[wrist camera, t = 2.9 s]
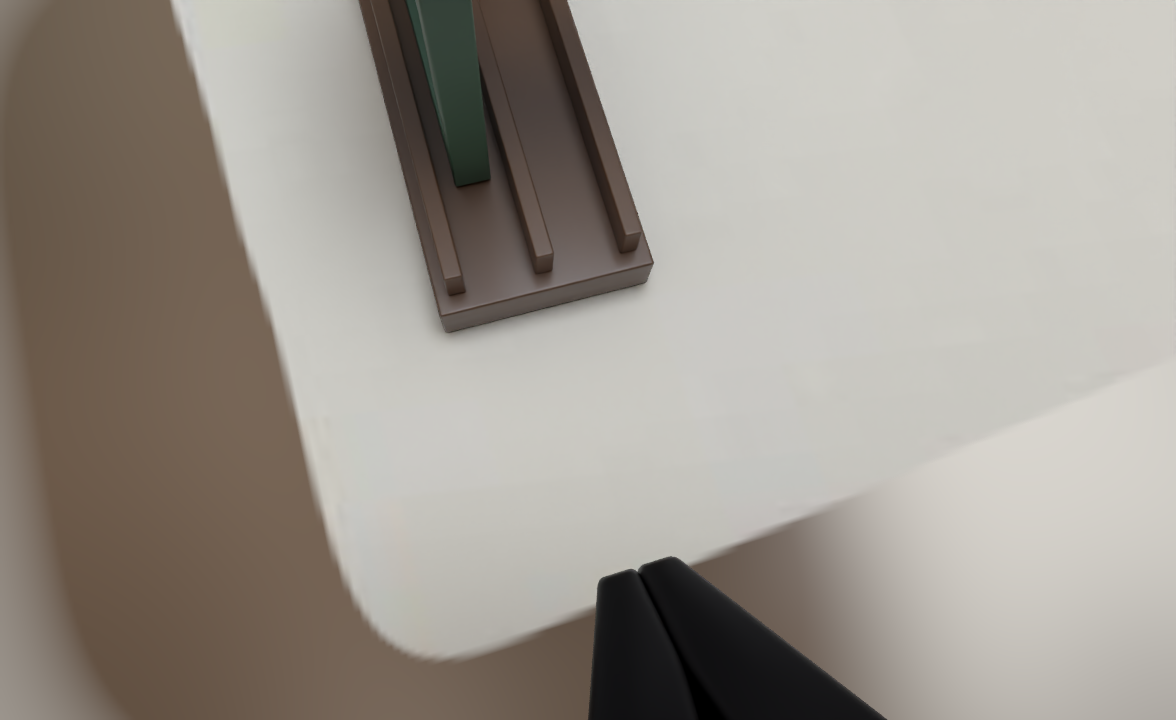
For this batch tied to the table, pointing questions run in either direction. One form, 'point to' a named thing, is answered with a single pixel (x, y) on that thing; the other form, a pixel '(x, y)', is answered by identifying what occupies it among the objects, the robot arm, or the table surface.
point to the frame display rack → (513, 167)
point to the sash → (453, 82)
